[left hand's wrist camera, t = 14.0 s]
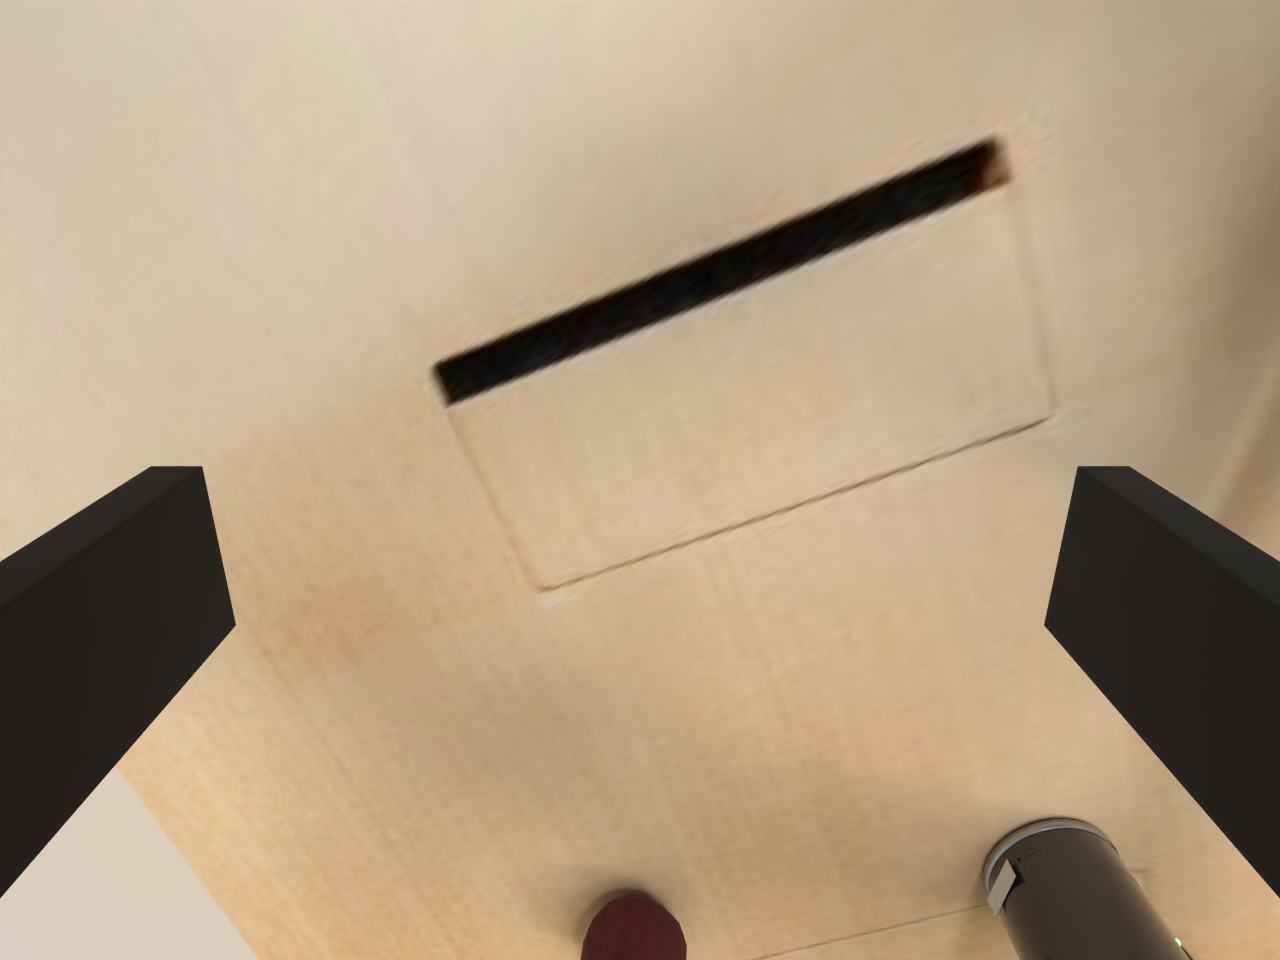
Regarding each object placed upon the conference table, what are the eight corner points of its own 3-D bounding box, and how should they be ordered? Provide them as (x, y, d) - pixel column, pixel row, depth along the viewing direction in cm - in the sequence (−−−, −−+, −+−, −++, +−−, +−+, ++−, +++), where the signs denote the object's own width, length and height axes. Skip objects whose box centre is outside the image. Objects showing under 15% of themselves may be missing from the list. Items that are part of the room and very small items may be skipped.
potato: (605, 958, 62) (601, 1052, 55) (569, 886, 59) (560, 977, 53) (697, 936, 61) (704, 1029, 55) (665, 862, 58) (668, 951, 52)
